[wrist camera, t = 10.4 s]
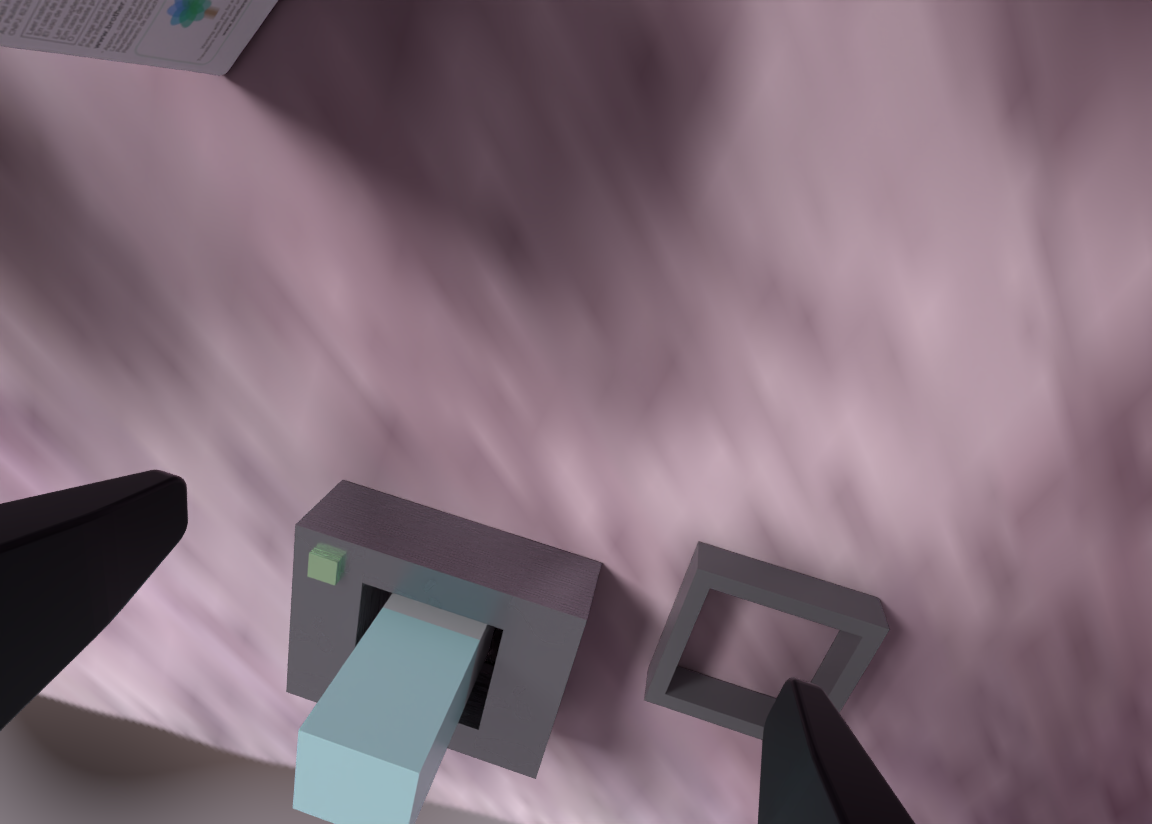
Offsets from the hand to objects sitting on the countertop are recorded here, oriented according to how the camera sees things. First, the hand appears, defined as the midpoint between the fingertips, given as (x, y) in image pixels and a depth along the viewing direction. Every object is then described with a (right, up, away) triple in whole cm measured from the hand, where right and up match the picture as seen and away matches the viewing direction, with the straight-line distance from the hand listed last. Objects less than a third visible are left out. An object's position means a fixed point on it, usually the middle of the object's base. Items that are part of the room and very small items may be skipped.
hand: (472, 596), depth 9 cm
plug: (-3, -5, +16) cm, 17 cm away
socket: (-3, -5, +16) cm, 17 cm away
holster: (+8, -5, +14) cm, 17 cm away
